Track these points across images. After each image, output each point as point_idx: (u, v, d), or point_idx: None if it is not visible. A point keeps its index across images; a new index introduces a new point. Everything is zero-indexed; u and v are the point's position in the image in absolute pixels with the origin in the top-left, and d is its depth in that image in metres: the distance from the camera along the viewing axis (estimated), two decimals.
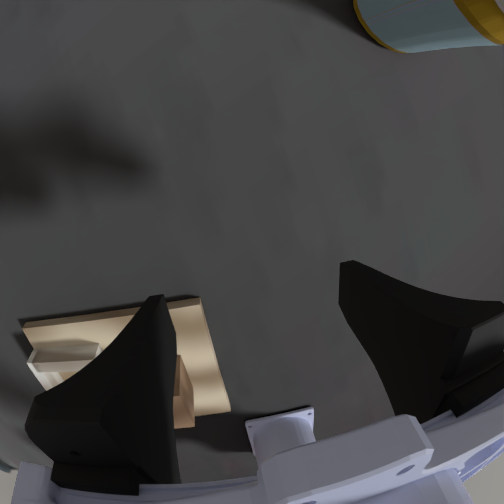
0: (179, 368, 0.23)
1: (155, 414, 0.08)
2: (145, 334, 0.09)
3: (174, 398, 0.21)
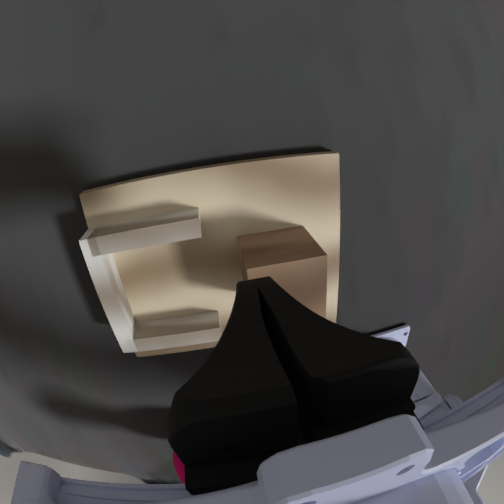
0: (309, 235, 0.19)
1: None
2: (262, 316, 0.09)
3: (319, 260, 0.17)
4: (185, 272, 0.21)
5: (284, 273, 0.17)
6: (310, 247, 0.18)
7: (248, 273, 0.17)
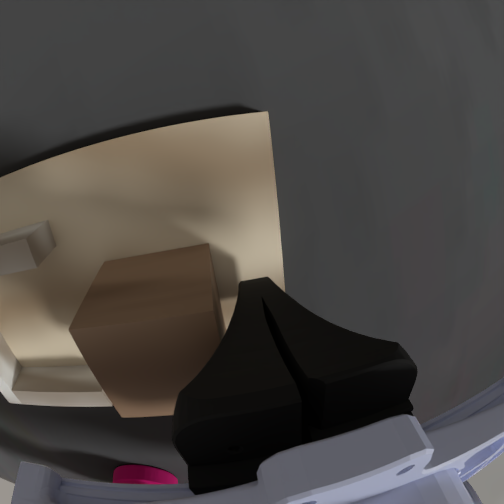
0: (208, 262, 0.11)
1: None
2: (264, 315, 0.09)
3: (198, 320, 0.08)
4: (53, 311, 0.12)
5: (133, 341, 0.08)
6: (191, 289, 0.09)
7: (73, 336, 0.08)
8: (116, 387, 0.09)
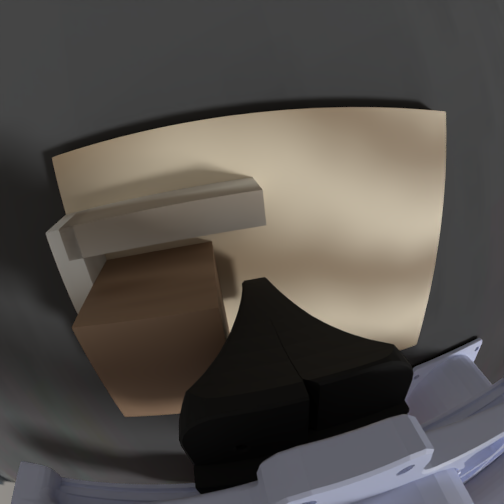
0: (212, 260, 0.11)
1: None
2: (269, 314, 0.09)
3: (203, 317, 0.08)
4: (225, 285, 0.13)
5: (137, 338, 0.08)
6: (196, 287, 0.09)
7: (76, 334, 0.08)
8: (119, 386, 0.09)
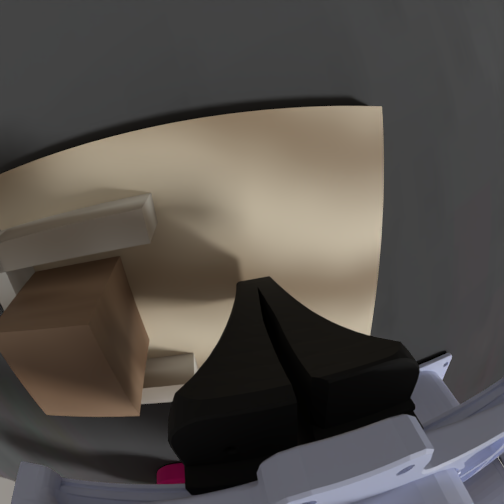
0: (109, 275, 0.10)
1: None
2: (262, 316, 0.09)
3: (78, 332, 0.08)
4: (138, 297, 0.13)
5: (35, 346, 0.08)
6: (82, 302, 0.09)
7: None
8: (34, 387, 0.09)
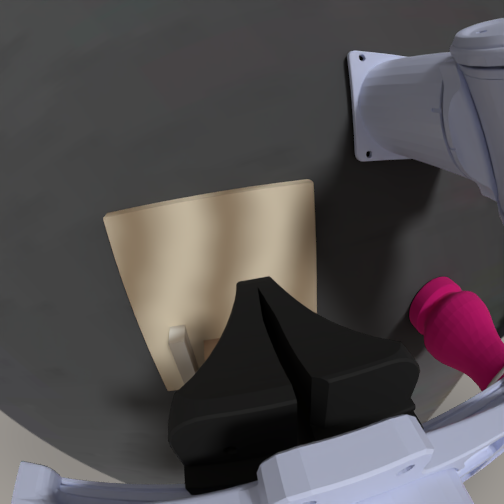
0: (204, 354, 0.23)
1: None
2: (262, 315, 0.09)
3: None
4: None
5: None
6: None
7: None
8: None
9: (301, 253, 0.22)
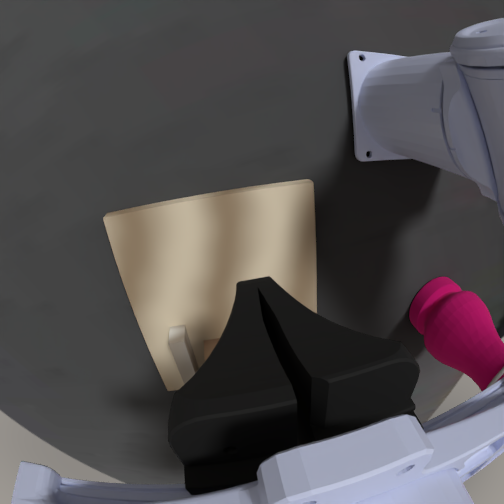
0: (204, 354, 0.23)
1: None
2: (262, 315, 0.09)
3: None
4: None
5: None
6: None
7: None
8: None
9: (301, 253, 0.22)
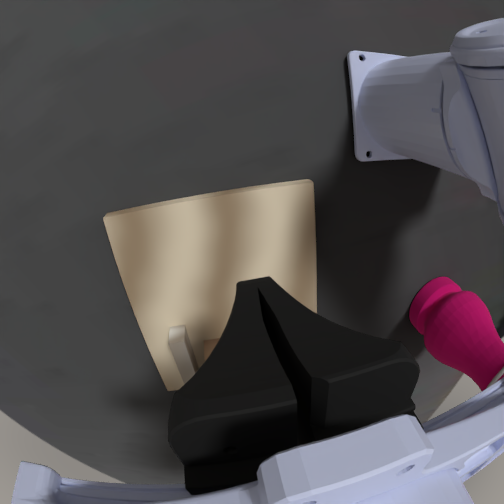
0: (204, 354, 0.23)
1: None
2: (262, 315, 0.09)
3: None
4: None
5: None
6: None
7: None
8: None
9: (301, 253, 0.22)
